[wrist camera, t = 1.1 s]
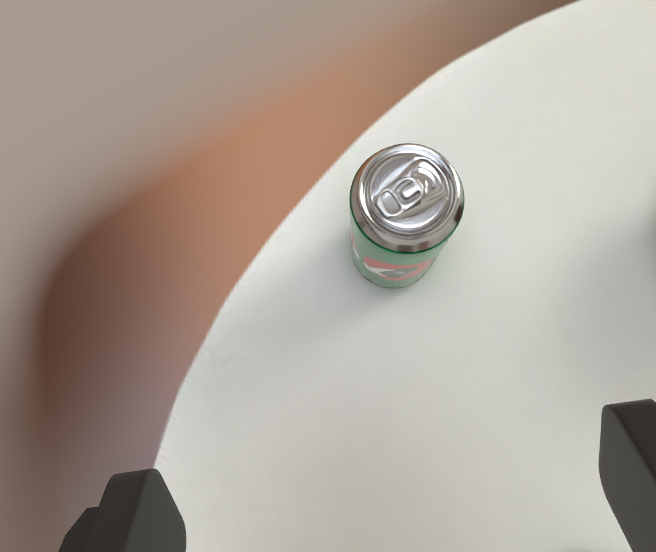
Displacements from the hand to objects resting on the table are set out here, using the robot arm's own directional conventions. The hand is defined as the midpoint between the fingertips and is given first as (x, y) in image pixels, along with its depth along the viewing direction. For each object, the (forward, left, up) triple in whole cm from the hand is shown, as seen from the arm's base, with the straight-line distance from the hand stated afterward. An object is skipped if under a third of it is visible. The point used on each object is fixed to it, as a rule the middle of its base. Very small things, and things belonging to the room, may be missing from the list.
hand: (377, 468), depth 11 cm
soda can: (-1, +9, -25) cm, 27 cm away
